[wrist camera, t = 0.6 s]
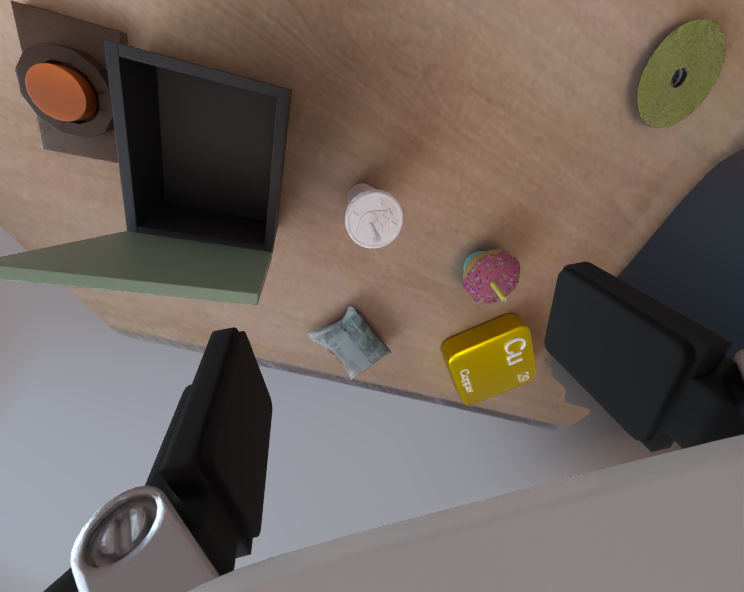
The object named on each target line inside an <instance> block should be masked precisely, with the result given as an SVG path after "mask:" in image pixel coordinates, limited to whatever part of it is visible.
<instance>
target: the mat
mask: <svg viewBox="0 0 744 592" xmlns="http://www.w3.org/2000/svg"><path fill="white" fill-rule="evenodd" d="M724 46H725V38H724V35H723V32H722V30H721V28H720V27H719V26H718V24H716V23H715V22H713V20H712V21H711V20H708V19H698V20H693V21H690V22H688V23H685V24H683V25H682V26H680V27H678V28H677V29H676V30H674V31H673V32H671V34H669V35H668V36H667V37H666V38H665V39H664V40H663V41H662V43H661V44H659V47H658V48H657V49H656V50H655V52H654V54H653V55H652V57H651V58H650V59H649V62H648V63H647V65H646V67H645V69H644V71H643V73H642V76H641V80H640V83H639V87H638V93H637V104H638V105H637V108H638V111H639V114H640V116H641V118H642V119H643V121H645V123H646V124H648V125H650V126H652V127H657V128H661V127H666V126H667V127H668V126H671V125H674V124H676V123H678V122H679V121H681V120H683V119H684V118H685V117H687V116H688V115H689V114H691V113H692V112H693V111H694V110H695V109H696V108H697V107H698V106H699V105H700V104H701V103H702V101H703V100H704V99H705V98H706V97H707V95H708V94H709V92H710V91H711V89H712V87H713V85H714V84H715V82H716V80H717V78H718V76H719V74H720V71H721V68H722V63H723V61H724V56H725V55H724V53H725V47H724Z"/></svg>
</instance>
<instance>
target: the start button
mask: <svg viewBox="0 0 744 592" xmlns="http://www.w3.org/2000/svg"><path fill="white" fill-rule="evenodd" d="M25 84H26V88H27V91H28V94H29V96H30V97H31V99H32V100H33V102H34V103H35V104H36V105H37V106H38V107H39V108H40V109H41V110H42V111H43V112H45V113H46V114H47V115H49V116H51V117H53V118H55V119H58V120H61V121H77V120H84V119H87V118H90V117H91V116H92V115H93V114H94V113H95V111H96V108H97V97H96V94H95V91H94V89H93V87H92V86H91V84H90V83H89V82H88V80H87V79H86V78H85V77H84V76H83V75H81V74H80V73H79V72H77V71H76V70H74V69H72V68H70V67H68V66H65V65H59V64H50V63H39V64H35V65H33V66H32V67H31V68H30V69H29V70H28V71H27V74H26V78H25Z"/></svg>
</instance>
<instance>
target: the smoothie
mask: <svg viewBox="0 0 744 592" xmlns="http://www.w3.org/2000/svg"><path fill="white" fill-rule="evenodd" d="M402 224H403V213H402V209H401V207H400V205H399V203H398V201H397V200H396V199H395V197H394V196H392V195H391V194H390V193H388V192H385V191H383V190H376V189H375V188H373V187H371V186H369V185H367V184H364V183H360V184H357V185H355V186H353V187H352V188H351V189H350V191H349V193H348V207H347V210H346V213H345V225H346V229H347V231H348V233H349V235H350V237H351V238H352V239H353V240H354V241H355V242H356V243H357V244H359V245H360V246H363V247H366V248H380V247H383V246H386V245H387V244H389V243H391V242H392V241H393V240H394V239H395V238H396V237H397V236H398V234H399V232H400V230H401V228H402Z"/></svg>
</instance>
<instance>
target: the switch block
mask: <svg viewBox="0 0 744 592" xmlns="http://www.w3.org/2000/svg"><path fill="white" fill-rule="evenodd" d="M11 4H12V9H13V13H14V18H15V22H16V27H17V31H18V36H19V40H20V45H21V49H22V55H21V57H20V60H19V62H18V64H17V66H16V70H15V71H16V75H17V79H18V84H19V88H20V92H21V94H22V96H23V98H24V99H25V100H26V102H27V103H28V104H29V106H30V107H31V108H32V110H33V111H34V112H35V113H36V117H37V122H38V126H39V131H40V135H41V140H42V144H43V149H46V150H51V151H57V152H62V153H67V154H73V155H78V156H83V157H88V158H94V159H99V160H104V161H110V162H115V163H119V160H118V152H117V144H116V136H115V128H114V119H113V111H112V103H111V95H110V87H109V79H108V70H107V62H106V54H105V46H104V39H106V40H110V41H113V42H117V43H121V44H125V45H128V44H127V34H126V33H124V32H121V31H118V30H114V29H111V28H107V27H103V26H100V25H96V24H93V23H89V22H86V21H82V20H79V19H75V18H71V17H68V16H64V15H61V14H57V13H54V12H50V11H47V10H43V9H39V8H36V7H32V6H29V5H25V4H22V3H18V2H15V1H11ZM39 63H50V64H59V65H65V66H68V67H70V68H72V69H74V70H76V71H77V72H79V73H80V74H81V75H83V76H84V77H85V78H86V79H87V80H88V82H89V83H90V84H91V86H92V87H93V89H94V91H95V94H96V97H97V108H96V111H95V113H94V114H93V115H92V116H91V117H90V118H87V119H84V120H77V121H61V120H58V119H55V118H53V117H51V116H49V115H47V114H46V113H45V112H43V111H42V110H41V109H40V108H39V107H38V106H37V105H36V104H35V103H34V102H33V100H32V99H31V97H30V96H29V94H28V91H27V88H26V84H25V78H26V74H27V71H28V70H29V69H30V68H31V67H32V66H33V65H35V64H39Z"/></svg>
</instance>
